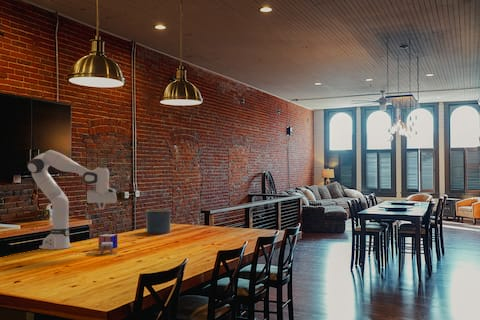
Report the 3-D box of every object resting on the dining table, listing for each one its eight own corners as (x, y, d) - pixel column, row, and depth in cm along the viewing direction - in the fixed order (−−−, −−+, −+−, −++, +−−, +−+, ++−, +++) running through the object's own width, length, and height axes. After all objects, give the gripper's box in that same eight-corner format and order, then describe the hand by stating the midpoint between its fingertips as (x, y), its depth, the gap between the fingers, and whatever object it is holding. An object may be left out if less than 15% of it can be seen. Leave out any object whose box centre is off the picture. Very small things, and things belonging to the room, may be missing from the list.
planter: (147, 231, 415) (147, 209, 415) (171, 230, 417) (171, 209, 417) (144, 234, 393) (144, 211, 393) (170, 234, 395) (170, 211, 395)
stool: (101, 254, 301) (101, 244, 301) (102, 252, 308) (102, 242, 308) (111, 254, 302) (111, 243, 302) (112, 252, 309) (112, 241, 309)
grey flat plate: (85, 256, 296) (85, 256, 296) (87, 253, 308) (87, 252, 308) (116, 255, 300) (116, 254, 300) (117, 252, 312) (117, 251, 312)
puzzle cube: (111, 250, 319) (111, 236, 319) (98, 250, 321) (98, 236, 321) (117, 248, 329) (117, 234, 329) (105, 247, 331) (105, 234, 331)
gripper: (86, 189, 310) (85, 209, 310) (116, 190, 314) (116, 209, 314) (87, 189, 316) (86, 208, 316) (117, 189, 321) (116, 209, 320)
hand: (101, 209), depth 315 cm, fingers closed
